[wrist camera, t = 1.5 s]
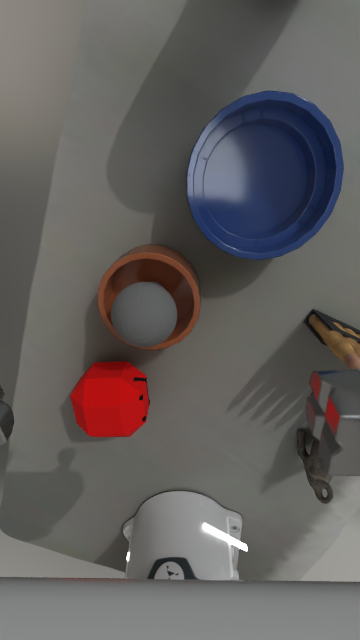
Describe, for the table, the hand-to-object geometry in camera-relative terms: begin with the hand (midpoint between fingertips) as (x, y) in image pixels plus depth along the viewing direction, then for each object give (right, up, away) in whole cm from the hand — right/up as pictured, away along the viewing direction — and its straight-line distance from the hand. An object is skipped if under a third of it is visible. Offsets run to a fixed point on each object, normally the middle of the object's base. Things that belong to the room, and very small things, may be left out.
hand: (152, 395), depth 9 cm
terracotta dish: (-2, +5, +28) cm, 28 cm away
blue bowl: (+8, +15, +23) cm, 29 cm away
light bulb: (-2, +5, +28) cm, 28 cm away
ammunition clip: (+20, 0, +29) cm, 35 cm away
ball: (-7, -6, +33) cm, 34 cm away
